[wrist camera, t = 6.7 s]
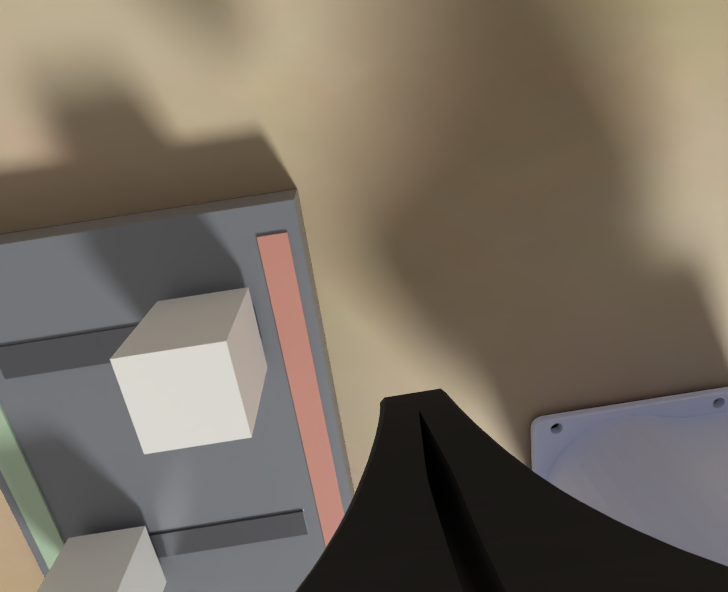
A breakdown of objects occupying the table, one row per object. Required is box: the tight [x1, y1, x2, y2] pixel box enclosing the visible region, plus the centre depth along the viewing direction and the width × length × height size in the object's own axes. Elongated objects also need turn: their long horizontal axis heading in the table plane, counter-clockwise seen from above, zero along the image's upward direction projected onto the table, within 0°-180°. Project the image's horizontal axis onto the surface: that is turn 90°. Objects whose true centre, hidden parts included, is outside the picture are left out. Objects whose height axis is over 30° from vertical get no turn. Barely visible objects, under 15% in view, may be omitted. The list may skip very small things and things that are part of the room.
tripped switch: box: [110, 287, 267, 454], centre depth 16 cm, size 3×3×4 cm
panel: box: [0, 189, 354, 592], centre depth 22 cm, size 13×26×2 cm, turn 8°
